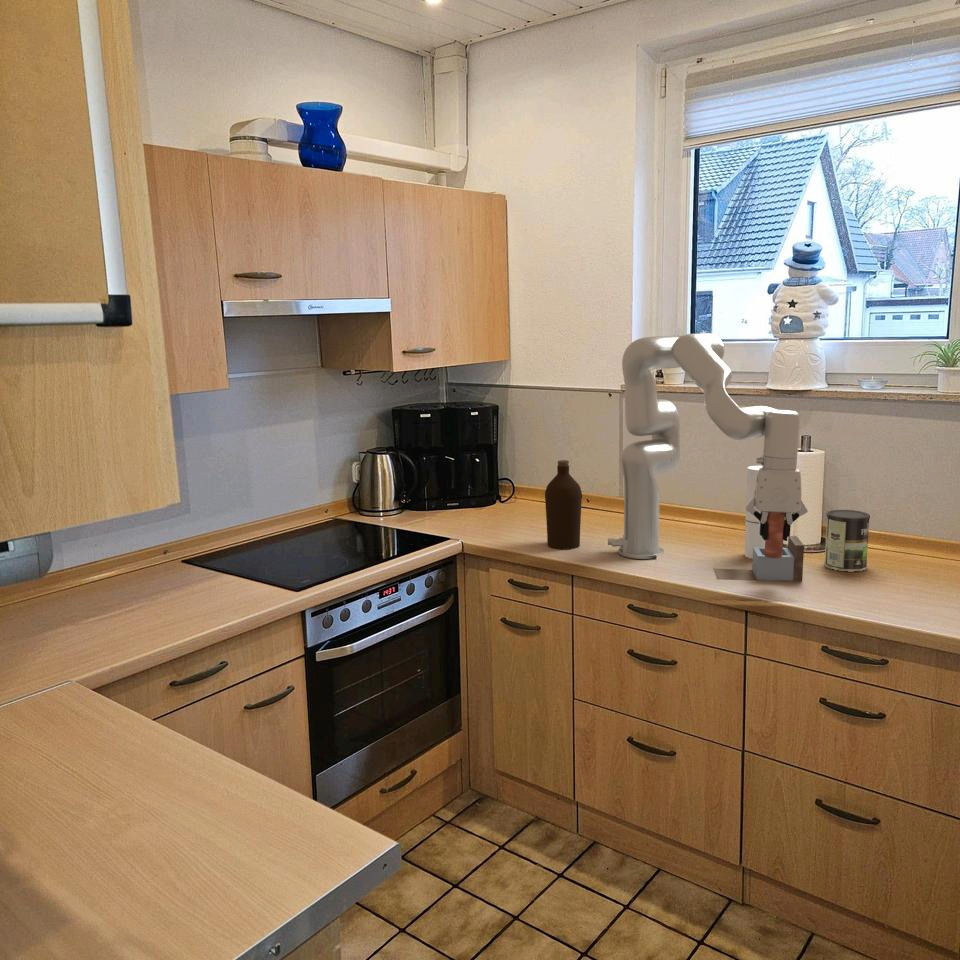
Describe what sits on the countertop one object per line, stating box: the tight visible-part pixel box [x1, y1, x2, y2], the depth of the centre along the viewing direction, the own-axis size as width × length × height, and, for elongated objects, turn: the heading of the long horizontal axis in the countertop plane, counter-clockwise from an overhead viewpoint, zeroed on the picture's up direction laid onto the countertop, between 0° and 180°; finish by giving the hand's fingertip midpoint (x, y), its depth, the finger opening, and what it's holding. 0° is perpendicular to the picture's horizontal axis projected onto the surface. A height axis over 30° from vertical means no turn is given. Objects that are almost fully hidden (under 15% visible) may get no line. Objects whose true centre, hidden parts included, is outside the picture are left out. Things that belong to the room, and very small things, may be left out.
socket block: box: [751, 547, 795, 582], centre depth 211 cm, size 8×8×6 cm
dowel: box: [764, 512, 785, 558], centre depth 201 cm, size 4×4×12 cm
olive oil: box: [544, 459, 583, 550], centre depth 245 cm, size 11×11×25 cm
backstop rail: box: [713, 535, 805, 583], centre depth 211 cm, size 20×9×10 cm, turn 80°
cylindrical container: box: [744, 465, 767, 560], centre depth 227 cm, size 7×7×25 cm
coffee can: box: [823, 509, 871, 573], centre depth 219 cm, size 10×10×14 cm
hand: (774, 538), depth 202 cm, fingers closed on dowel, 4 cm apart
